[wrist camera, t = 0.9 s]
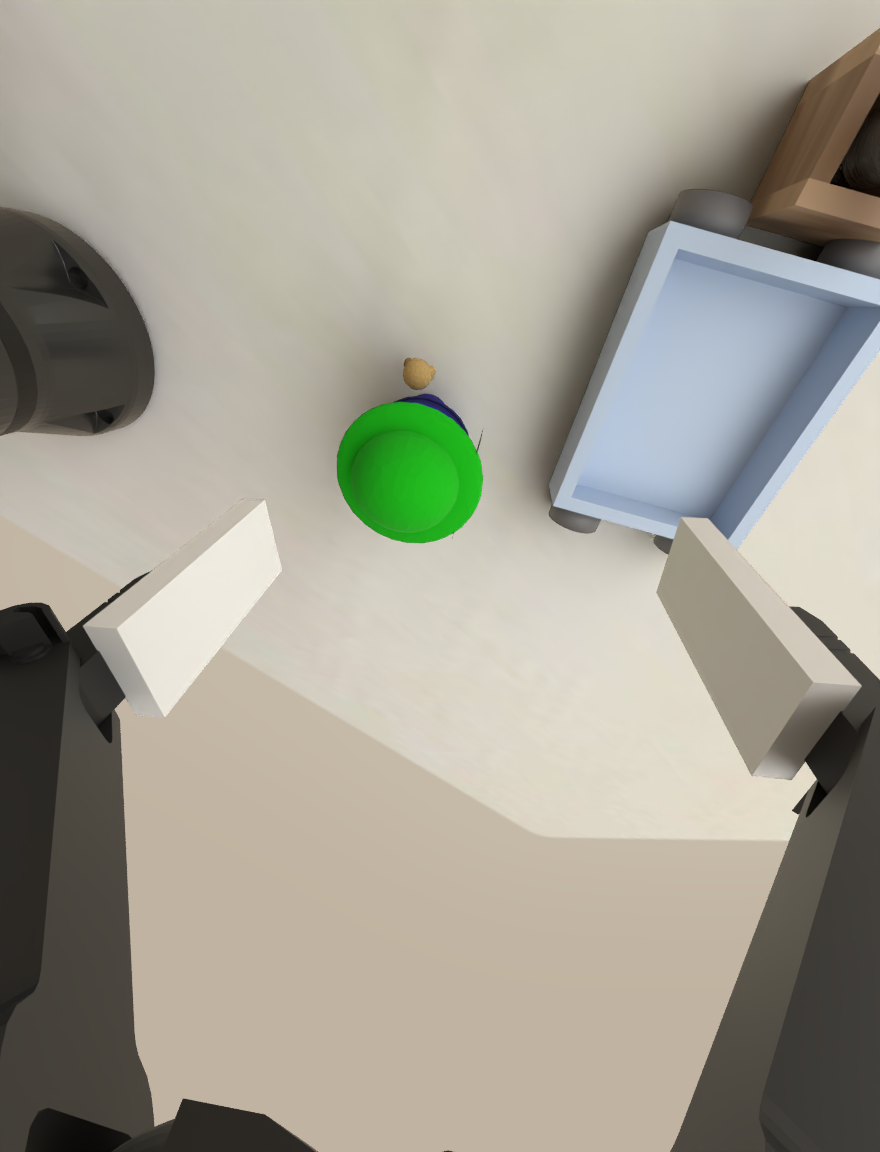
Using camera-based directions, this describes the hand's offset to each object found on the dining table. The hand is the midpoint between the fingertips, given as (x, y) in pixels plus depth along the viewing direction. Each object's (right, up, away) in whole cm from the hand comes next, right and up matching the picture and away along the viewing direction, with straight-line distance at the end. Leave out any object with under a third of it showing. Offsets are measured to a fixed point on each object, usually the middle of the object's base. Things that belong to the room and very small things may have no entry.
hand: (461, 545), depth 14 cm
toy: (-1, +11, +21) cm, 24 cm away
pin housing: (+21, +22, +10) cm, 32 cm away
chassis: (+17, +12, +17) cm, 27 cm away
